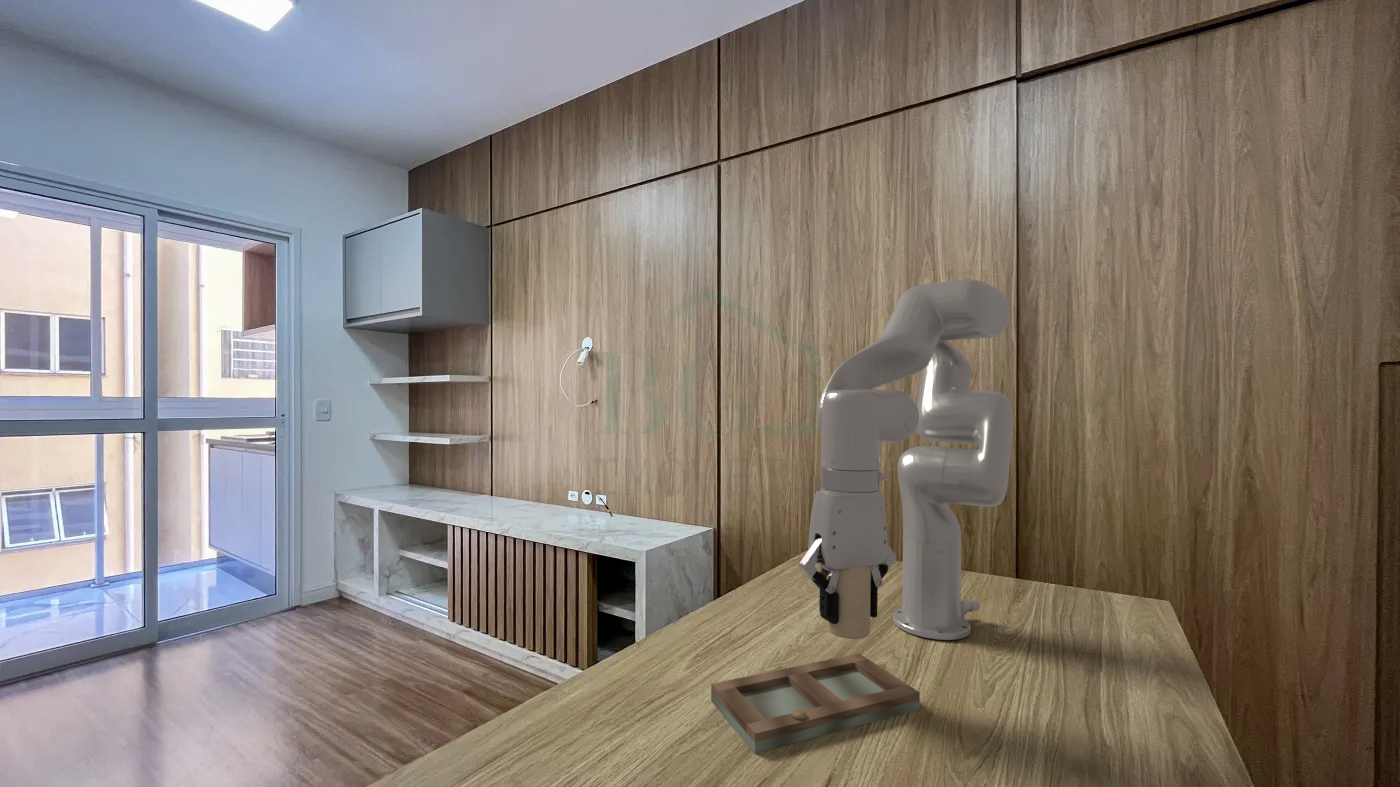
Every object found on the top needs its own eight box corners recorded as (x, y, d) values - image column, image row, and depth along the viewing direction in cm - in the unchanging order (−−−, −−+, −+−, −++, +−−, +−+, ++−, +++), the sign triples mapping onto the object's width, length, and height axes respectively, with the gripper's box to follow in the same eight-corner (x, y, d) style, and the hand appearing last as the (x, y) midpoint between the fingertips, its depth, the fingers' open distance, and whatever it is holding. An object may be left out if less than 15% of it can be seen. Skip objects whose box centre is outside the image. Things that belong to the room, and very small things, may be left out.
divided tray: (859, 668, 84) (859, 650, 84) (919, 709, 73) (919, 689, 73) (711, 700, 75) (711, 680, 75) (754, 753, 64) (754, 730, 64)
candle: (872, 641, 73) (872, 563, 73) (827, 637, 74) (828, 560, 74) (868, 625, 78) (868, 552, 78) (827, 621, 79) (827, 549, 79)
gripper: (881, 475, 83) (880, 600, 83) (780, 480, 76) (778, 615, 76) (920, 482, 76) (919, 618, 76) (812, 488, 69) (810, 637, 69)
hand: (848, 615), depth 76 cm, fingers closed on candle, 5 cm apart
